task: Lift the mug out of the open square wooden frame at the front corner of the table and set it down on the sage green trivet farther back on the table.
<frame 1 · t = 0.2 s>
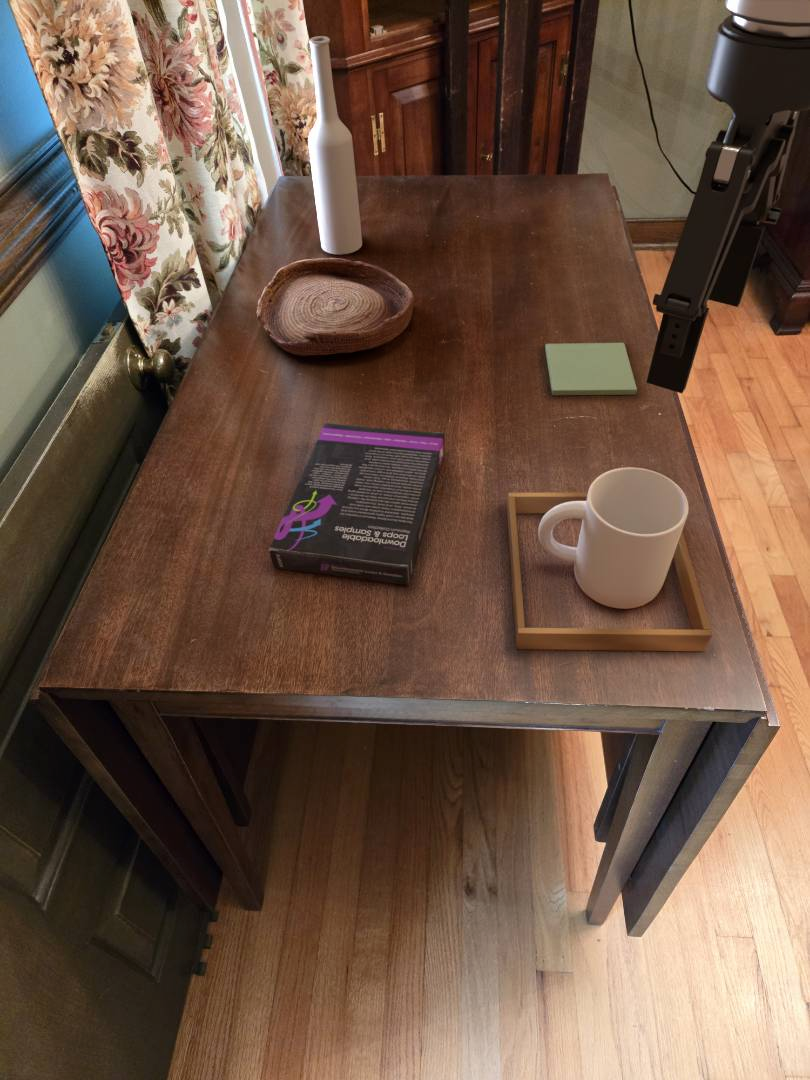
hand: (695, 341, 57), 21 cm above the table, tool pointing down, fingers open, 13 cm apart
bottle: (342, 246, 117), on the table
trivet: (588, 370, 91), on the table
square wooden frame: (596, 574, 69), on the table
basket: (337, 323, 101), on the table
box: (364, 509, 77), on the table
mug: (596, 575, 69), resting in square wooden frame
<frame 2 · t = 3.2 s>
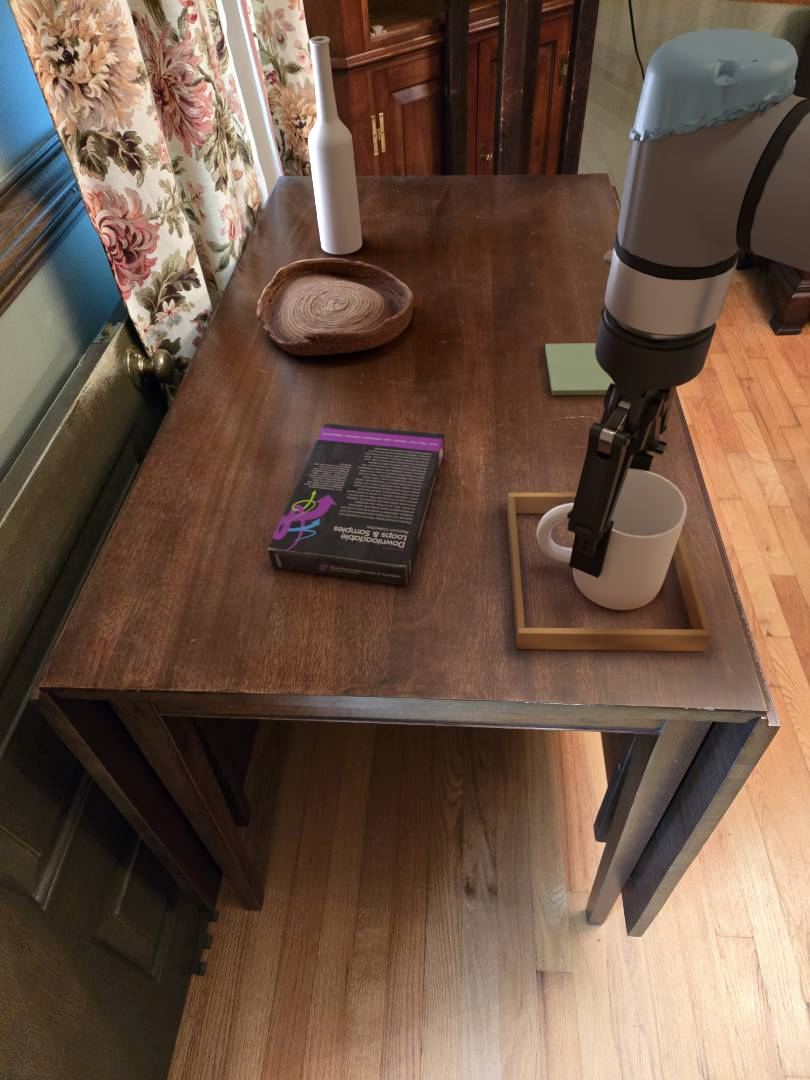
hand: (605, 535, 66), 5 cm above the table, tool pointing down, fingers closed on mug, 8 cm apart
mug: (595, 576, 69), resting in square wooden frame, touching gripper
everything else where it was.
when the fingers open (6 cm above the table, at t = 12.4 s): mug stays where it is, resting on trivet.
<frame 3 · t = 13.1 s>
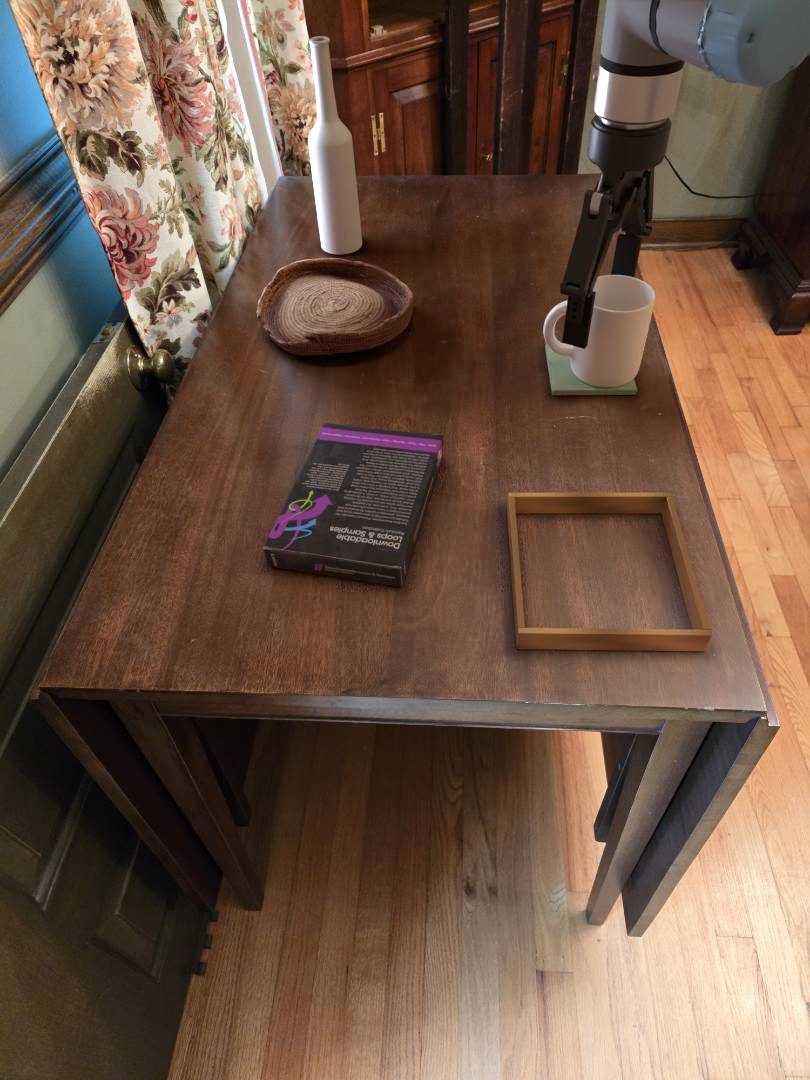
hand: (598, 315, 85), 8 cm above the table, tool pointing down, fingers open, 13 cm apart
mug: (588, 369, 90), point 1 cm above the table, touching trivet
everything else where it was.
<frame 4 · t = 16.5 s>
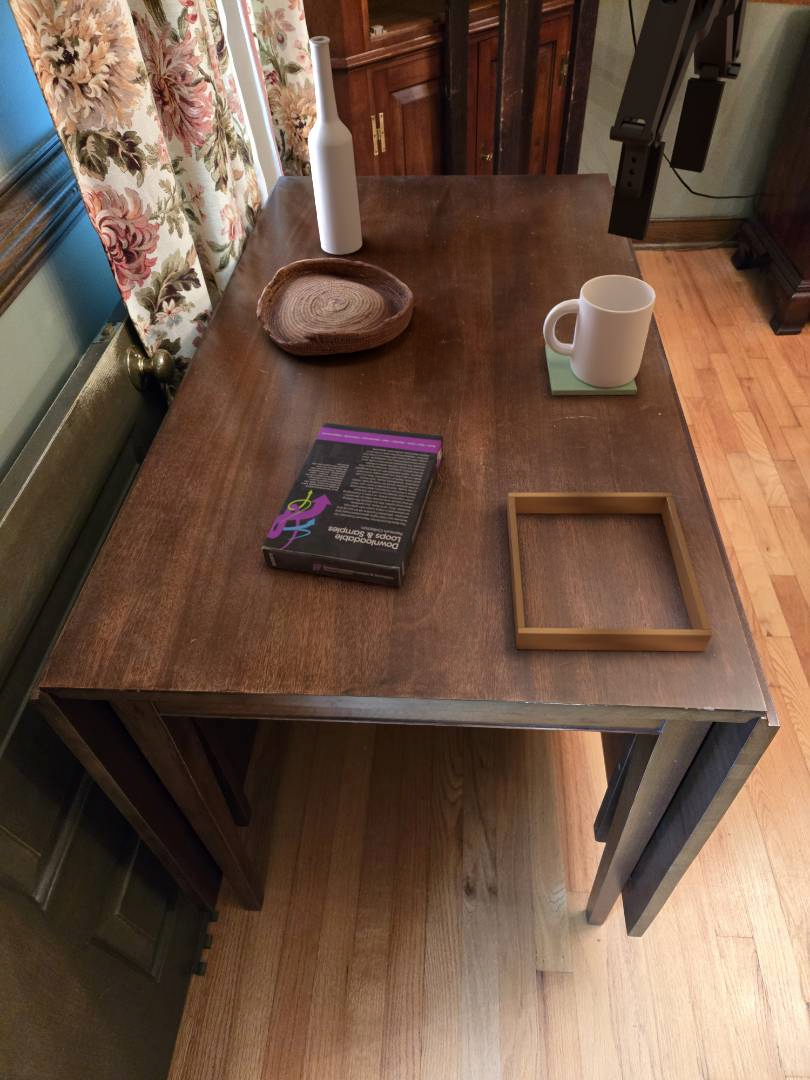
hand: (658, 200, 57), 29 cm above the table, tool pointing down, fingers open, 13 cm apart
nothing on the table moved.
at the end: mug inside the target area on the trivet (0.7 cm from its centre), point 0.6 cm above the trivet's base; mug tilted 0°; the gripper is holding nothing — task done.
